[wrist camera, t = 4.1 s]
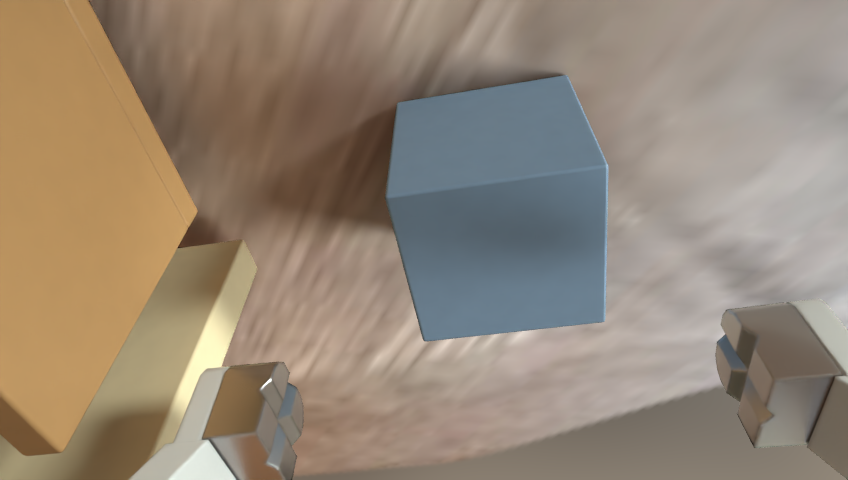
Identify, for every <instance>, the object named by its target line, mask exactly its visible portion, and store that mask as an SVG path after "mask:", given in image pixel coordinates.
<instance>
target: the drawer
mask: <svg viewBox="0 0 848 480" xmlns="http://www.w3.org/2000/svg"><path fill="white" fill-rule="evenodd" d="M196 214H197V208H196V207H195V205H194V203H193V201H192V199H191V197H190V195H189V193H188V191H187V189H186V187H185V185H184V183H183V182H182V180H181V178H180V176H179V174H178V172H177V170H176V168H175V166H174V164H173V162H172V160H171V158H170V157H169V155H168V153H167V151H166V149H165V147H164V145H163V143H162V141H161V139H160V137H159V135H158V133H157V132H156V130H155V128H154V126H153V124H152V122H151V120H150V118H149V116H148V114H147V112H146V110H145V108H144V107H143V105H142V103H141V101H140V99H139V97H138V95H137V93H136V91H135V89H134V87H133V85H132V83H131V82H130V80H129V78H128V76H127V74H126V72H125V70H124V68H123V66H122V64H121V62H120V60H119V58H118V57H117V55H116V53H115V51H114V49H113V47H112V45H111V43H110V41H109V39H108V37H107V35H106V33H105V32H104V30H103V28H102V26H101V24H100V22H99V20H98V18H97V16H96V14H95V12H94V10H93V8H92V7H91V5H90V3H89V1H88V0H0V480H128V479H129V478H130V477H131V476H132V475H133V474H134V473H135V472H137V471H138V470H139V469H140V468H141V467H142V466H143V465H144V464H145V463H146V462H147V461H148V460H149V459H150V458H151V457H152V456H153V455H154V454H155V453H157V452H158V451H159V450H160V449H161V448H162V447H163V446H164V445H165V444H168V443H173V442H174V439H175V437H176V434H177V432H178V429H179V427H180V424H181V422H182V419H183V417H184V414H185V412H186V409H187V407H188V404H189V402H190V399H191V397H192V394H193V392H194V389H195V387H196V384H197V382H198V379H199V377H200V375H201V374H202V373H203V372H204V371H205V370H206V369H207V368H217V367H221V366H222V363H223V361H224V358H225V355H226V353H227V350H228V347H229V344H230V342H231V339H232V336H233V334H234V331H235V328H236V325H237V323H238V320H239V317H240V315H241V312H242V309H243V307H244V304H245V301H246V298H247V296H248V293H249V290H250V288H251V285H252V282H253V280H254V277H255V274H256V271H257V267H256V265H255V263H254V261H253V258H252V256H251V254H250V252H249V250H248V248H247V246H246V244H245V242H244V240H235V241H228V242H221V243H213V244H206V245H199V246H192V247H184V248H178V246H179V244H180V243H181V241H182V239H183V237H184V235H185V234H186V232H187V228H188V227H189V226H190V225H191V223H192V221H193V219H194V218H195V216H196Z"/></svg>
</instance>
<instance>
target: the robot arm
mask: <svg viewBox="0 0 848 480" xmlns="http://www.w3.org/2000/svg"><path fill="white" fill-rule="evenodd" d="M721 326H722V328H723V330H724V332H725V335H724V336H723V337H722V338H721V339H720V340H719V341H718V342H717V347H716V354H715V356H716V364H717V370H718V374H719V377H720V380H721V382H722V384H723V386H724V388H725V390H726V393H727V394H729V395H730V396H732V397H733V398H735V399H736V400H738V401H739V402H740V406H739V410H738V414H737V415H738V417H739V419H740V421H741V423H742V425H743V427H744V429H745V431H746V433H747V435H748V437H749V439H750V441H751V442H752V444H753V446H754V448H761V447H775V446H776V447H777V446H792V445H808V446H807V448H809V449H810V450H811V451H813V452H814V453H815V454H816V455H817V456H819V457H820V458H821V459H822V460H824V461H825V462H826V463H827V464H829V465H830V466H831V467H832V468H834V469H835V470H836V471H837V472H839V473H840V474H841V475H842V476H844V477H845V478H846V479H847V480H848V330H847V329H846V327H845V326H844V325H843V324H842V322H841V321H840V320H839V319H838V317H837V316H836V315H835V314H834V312H833V311H832V310H831V309H830V307H829V306H828V305H827V303H826V302H824V301H822V300H821V299H811V300H802V301H794V302H787V303H784V302H783V303H775V304H767V305H759V306H751V307H743V308H735V309H727V310H726V311H725V313H724V314H723V316H722V321H721ZM289 374H290V372H289V371H288V369H287V367H286V365H285V363H284V362H269V363H258V364H247V365H235V366H228V367H217V368H207V369H206V370H205V371H204V372H203V373H202V374H201V375H200V377H199V379H198V382H197V384H196V387H195V389H194V392H193V394H192V397H191V399H190V402H189V404H188V407H187V409H186V412H185V414H184V417H183V419H182V422H181V424H180V427H179V429H178V432H177V434H176V437H175V439H174V442H173V443H168V444H165V445H164V446H163V447H162V448H161V449H160V450H159V451H158V452H157V453H155V454H154V455H153V456H152V457H151V458H150V459H149V460H148V461H147V462H146V463H145V464H144V465H143V466H142V467H141V468H140V469H139V470H138V471H137V472H135V473H134V474H133V475H132V476H131V477H130V478H129V479H128V480H292V478H293V473H294V468H295V463H296V459H297V455H296V454H295V452H294V450H293V448H292V445H293V444H294V443H295V442H296V441H297V439H298V438H299V437H300V436H301V433H302V428H303V422H304V412H303V403H302V398H301V395H300V393H299V391H298V389H297V387H295V386H293V385H292V384H290V383H288V379H289Z"/></svg>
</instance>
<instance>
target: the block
mask: <svg viewBox="0 0 848 480" xmlns="http://www.w3.org/2000/svg"><path fill="white" fill-rule="evenodd" d="M385 200H386V203H387V207H388V211H389V215H390V218H391V222H392V226H393V229H394V233H395V237H396V241H397V244H398V248H399V252H400V256H401V259H402V263H403V267H404V270H405V274H406V278H407V282H408V285H409V289H410V293H411V296H412V300H413V304H414V308H415V311H416V315H417V319H418V322H419V326H420V330H421V334H422V337H423V340H424V341H435V340H444V339H453V338H462V337H471V336H480V335H490V334H499V333H508V332H517V331H526V330H535V329H544V328H554V327H563V326H572V325H581V324H590V323H599V322H604V321H605V309H606V258H607V207H608V164H607V162H606V160H605V158H604V155H603V153H602V151H601V149H600V146H599V144H598V142H597V140H596V138H595V135H594V133H593V131H592V129H591V126H590V124H589V122H588V120H587V118H586V115H585V113H584V111H583V109H582V107H581V104H580V102H579V100H578V98H577V95H576V93H575V91H574V89H573V87H572V84H571V82H570V80H569V78H568V76H567V75H564V76H558V77H552V78H545V79H539V80H533V81H527V82H521V83H515V84H509V85H502V86H496V87H490V88H484V89H478V90H472V91H466V92H459V93H453V94H447V95H441V96H435V97H429V98H423V99H416V100H410V101H404V102H399V103H397V105H396V113H395V121H394V129H393V137H392V146H391V154H390V162H389V170H388V178H387V186H386V194H385Z"/></svg>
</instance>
